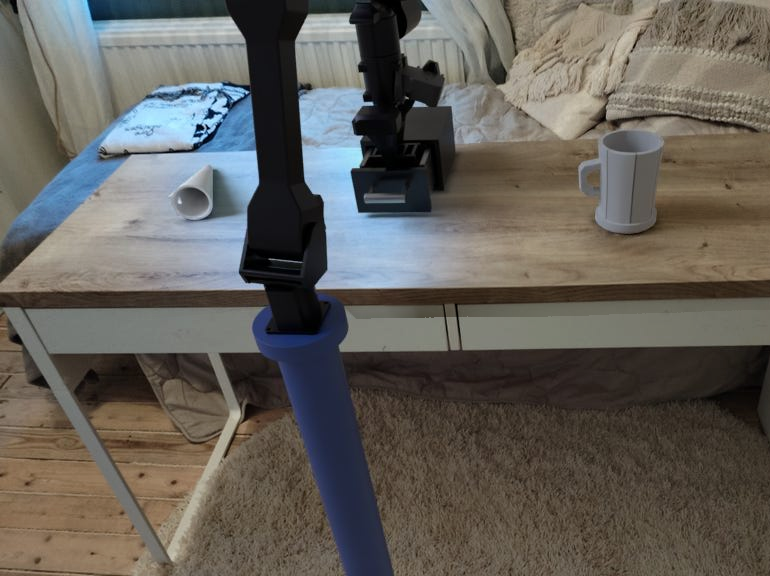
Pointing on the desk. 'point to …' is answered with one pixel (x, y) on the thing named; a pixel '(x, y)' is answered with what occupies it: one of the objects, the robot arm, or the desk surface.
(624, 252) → the desk surface
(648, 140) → the cup
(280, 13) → the robot arm
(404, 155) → the rack
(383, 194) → the open drawer with handle
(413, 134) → the black drawer box
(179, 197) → the long cone
